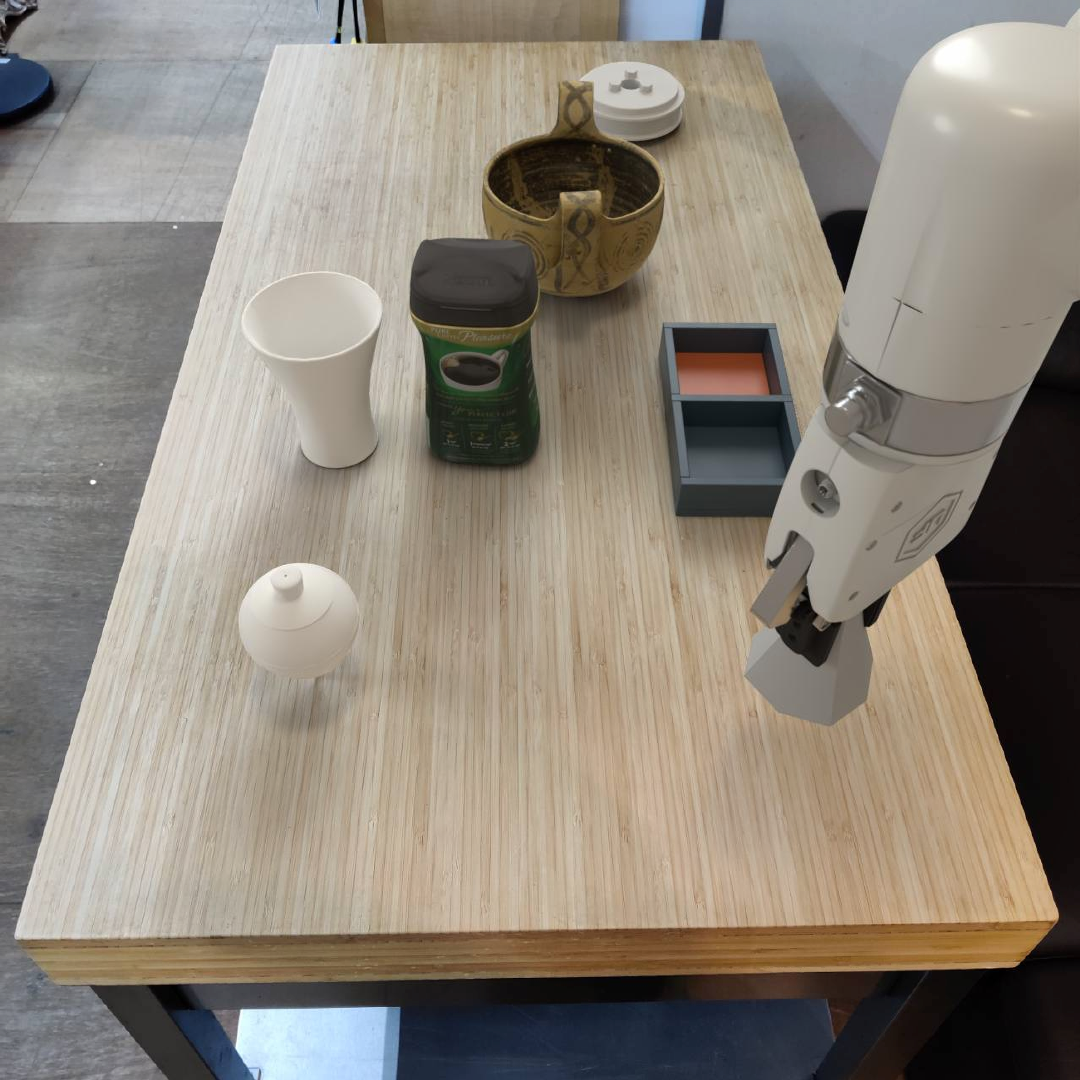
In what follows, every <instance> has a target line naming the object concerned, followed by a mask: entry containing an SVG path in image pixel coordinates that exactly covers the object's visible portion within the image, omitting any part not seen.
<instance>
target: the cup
mask: <svg viewBox="0 0 1080 1080" xmlns="http://www.w3.org/2000/svg"><path fill="white" fill-rule="evenodd" d="M383 307H384V306H383V301H382V300H381V298H380V296H379V295H378V293H377V291H376V290H374V288H372V287H371V286H370V285H369V284H368V283H367V282H365V281H364V280H361V279H360V278H358V277H355V276H353V275H348V274H345V273H340V272H338V271H337V272H336V271H326V270H325V271H323V270H322V271H321V270H317V271H308V272H307V271H306V272H305V271H304V272H300V273H296V274H291V275H288V276H285V277H281V278H280V279H278V280H275V281H273V282H270V283H269V284H267V285H266V286H264V287H263V288H262V289H260V290H258V291H257V292H256V293H255V294H254V295H253V296H252V297H251V298H250V300H249V301H248V302H247V303H246V305H245V308H244V309H243V310H244V311H243V312H242V315H241V323H240V329H241V331H242V334H243V336H244V339H245V340H246V342H247V344H249V346H250V347H251V348H252V350H253V351H254V352H255V353H256V355H257V356H258V357H259V359H260V360H261V361H262V363H263V364H264V366H265V367H266V368H267V369H268V371H269V372H270V374H271V375H272V376H273V378H274V379H275V380H276V382H277V383H278V385H279V386H280V387H281V388H282V391H283V392H284V394H285V396H286V398H287V400H288V402H289V404H290V406H291V407H292V411H293V413H294V416H295V419H296V422H297V426H298V432H299V433H298V434H299V440H300V448H301V451H302V453H303V455H304V456H305V458H307V460H308V461H310V462H312V463H313V464H315V465H317V466H320V467H324V468H329V469H342V468H348V467H352V466H355V465H357V464H359V463H361V462H362V461H364V460H366V459H367V458H368V457H369V456H370V455H371V454H372V453H373V452H374V451H375V449H376V448H377V445H378V441H379V432H378V429H377V425H376V422H375V419H374V416H373V413H372V407H371V398H370V397H371V396H370V392H371V391H370V390H371V389H370V388H371V374H372V373H371V371H372V367H373V361H374V357H375V352H376V347H377V342H378V338H379V333H380V330H381V326H382V321H383V318H384V309H383Z"/></svg>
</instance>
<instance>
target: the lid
mask: <svg viewBox="0 0 1080 1080" xmlns="http://www.w3.org/2000/svg"><path fill="white" fill-rule="evenodd" d="M578 81H590V82H594V100H593V113H594V121H595V125H596V127H597V128H598V130H599V131H601V132H602V133H604V134H606V135H608V136H611V137H616V138H620V139H623V140H626V141H628V142H640V141H648V140H652V139H658V138H659V137H663V136H666V135H667V134H670V133H671V132H673V131H674V130H675V129H676V128H677V127H678V126H679V124H680V123H681V122H682V119H683V109H682V105H683V104H684V101H685V94H686V93H685V88H684V86H683V85H682V83H681V82H680V81H679V80H678V79H677V78H676V77H675V76H674V75H672V73H670V72H669V71H667V70H665V69H664V68H661V67H659V66H657V65H654V64H650V63H645V62H639V61H617V62H609V63H605V64H602V65H600V66H597V67H594V68H593V69H591V70H590V71H588V72H587V73H586V74H584V75H583V76H582V77H581V78H580V79H579V80H578Z"/></svg>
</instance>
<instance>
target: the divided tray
mask: <svg viewBox="0 0 1080 1080" xmlns="http://www.w3.org/2000/svg"><path fill="white" fill-rule="evenodd" d="M779 336H780V335H779V332H778V327H777V324H776V322H685V321H683V322H682V321H681V322H678V321H676V322H675V321H674V322H671V321H669V322H666V321H663V322H662V326H661V333H660V341H659V349H658V358H659V359H658V360H659V370H660V371H659V372H660V380H661V389H662V390H661V391H662V399H663V400H662V401H663V408H664V417H665V419H664V420H665V428H666V437H667V446H668V447H667V449H668V456H669V457H668V458H669V465H670V476H671V486H672V494H673V505H674V513H675V516H676V517H769V518H770V517H771V518H772V517H773V513H774V510H775V507H776V504H777V501H778V498H779V495H780V492H781V490H782V487H783V484H784V482H785V479H786V476H787V474H788V471H789V469H790V466H791V464H792V462H793V459H794V457H795V454H796V452H797V450H798V447H799V445H800V443H801V441H802V436H801V432H800V427H799V422H798V418H797V413H796V409H795V405H794V399H793V394H792V390H791V385H790V382H789V377H788V373H787V369H786V364H785V359H784V355H783V350H782V345H781V341H780V337H779Z"/></svg>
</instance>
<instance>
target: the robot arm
mask: <svg viewBox="0 0 1080 1080" xmlns="http://www.w3.org/2000/svg"><path fill="white" fill-rule="evenodd" d="M887 138H888V139H887V141H886V146H885V149H884V152H883V155H882V159H881V163H880V167H879V170H878V173H877V177H876V179H875V180H876V181H875V184H874V187H873V191H872V195H871V199H870V202H869V207H868V210H867V213H866V216H865V220H864V224H863V227H862V231H861V234H860V237H859V240H858V241H859V242H858V244H857V249H856V252H855V256H854V260H853V264H852V265H851V270H850V273H849V278H848V281H847V283H846V284H847V285H846V288H845V292H844V295H843V299H842V303H841V306H840V310H839V313H838V315H837V319H836V322H835V325H834V329H833V333H832V336H831V338H830V339H831V340H830V344H829V347H828V351H827V354H826V358H825V361H824V364H823V368H822V372H821V376H820V380H819V395H820V401H821V402H820V404H819V405H818V407H817V408H816V409H815V411H814V413H813V415H812V418H811V419H810V421H809V423H808V426H807V428H806V430H805V432H804V434H803V435H802V437H801V440H802V441H801V443H800V445H799V447H798V450H797V452H796V454H795V457H794V459H793V462H792V464H791V466H790V469H789V471H788V474H787V476H786V479H785V482H784V484H783V487H782V490H781V492H780V495H779V498H778V501H777V504H776V507H775V510H774V513H773V517H771V521H770V523H769V527H768V531H767V535H766V539H765V545H764V556H763V559H764V566H765V568H766V570H769V571H770V570H774V571H773V572H772V574H771V575H770V577H769V579H768V580H767V582H766V583H765V585H764V587H763V588H762V590H761V591H760V593H759V594H758V596H757V597H756V599H755V600H754V602H753V604H752V605H751V607H750V609H749V612H750V613H751V615H753V616H754V617H755V618H756V619H758V620H759V621H760V622H761V623H762V624H763V625H764V627H765V626H767V627H768V628H769V629H772V628H775V630H776V631H777V633H778V634H779V635H780V637H781V639H782V641H783V642H784V644H785V645H786V646H787V647H788V648H789V649H791V650H792V651H793V652H794V653H796V654H798V655H802V656H803V657H805V658H806V659H807V660H808V661H809V662H810V663H811V664H812V665H814V666H815V667H820V666H821V665H822V664H823V663H825V662H826V661H827V658H828V656H829V653H830V651H831V649H832V646H833V644H834V641H835V639H836V636H837V634H838V632H839V629H840V627H841V624H842V622H841V621H844V620H848V619H850V618H852V617H853V616H855V615H857V614H858V613H860V612H861V611H862V610H863V621H864V627H866V628H871V627H872V626H873V625H875V624H876V623H877V622H878V619H879V617H880V615H881V613H882V611H883V609H884V607H885V604H886V602H887V600H888V598H889V596H890V593H891V592H892V589H893V588H895V586H897V585H898V584H899V583H901V582H902V581H904V580H905V579H906V578H907V577H908V576H910V575H912V574H913V573H914V572H915V571H916V570H918V569H919V568H920V567H921V566H922V565H924V564H925V563H926V562H927V561H929V560H931V558H932V557H934V556H935V555H937V554H938V553H939V552H940V551H941V550H942V549H944V548H945V547H946V546H947V545H949V544H950V542H952V541H953V540H954V539H955V537H957V536H958V535H959V534H960V533H961V531H962V530H963V529H964V527H965V526H966V524H967V522H968V520H969V518H970V517H971V515H972V512H973V510H974V508H975V506H976V503H977V502H978V499H979V496H980V494H981V492H982V490H983V488H984V485H985V482H986V480H987V478H988V476H989V474H990V472H991V469H992V467H993V465H994V462H995V461H996V458H997V455H998V453H999V450H1000V447H1001V445H1002V443H1003V440H1004V438H1005V436H1006V435H1007V433H1008V431H1009V429H1010V426H1011V425H1012V423H1013V421H1014V419H1015V417H1016V415H1017V413H1018V411H1019V409H1020V407H1021V405H1022V403H1023V402H1024V399H1025V397H1026V395H1027V394H1028V391H1029V389H1030V387H1031V385H1032V384H1033V381H1034V379H1035V377H1036V376H1037V373H1038V371H1039V370H1040V368H1041V366H1042V364H1043V363H1044V362H1043V361H1044V360H1045V358H1046V356H1047V354H1048V352H1049V350H1050V349H1051V346H1052V345H1053V342H1054V341H1055V339H1056V336H1057V335H1058V333H1059V331H1060V328H1061V326H1062V325H1063V323H1064V321H1065V319H1066V317H1067V316H1068V315H1067V314H1069V311H1070V310H1071V307H1072V306H1073V303H1075V302H1078V301H1080V7H1079V8H1078V9H1077V10H1076V12H1074V14H1073V15H1072V16H1071V17H1070V19H1068V22H1066V24H1065V26H1061V25H1060V26H1059V25H1056V24H1055V25H1054V24H1049V23H1040V22H1029V21H1003V22H1002V21H1001V22H992V23H985V24H979V25H975V26H972V27H968V28H965V29H963V30H960V31H958V32H955V33H953V34H951V35H949V36H947V37H945V38H944V39H942V40H940V41H938V42H937V43H936V44H934V45H933V47H931V48H930V49H928V51H926V53H924V55H922V56H921V58H920V59H919V60H918V61H917V63H916V64H915V65H914V67H913V69H912V70H911V72H910V74H909V75H908V77H907V78H906V81H905V83H904V84H903V88H902V91H901V93H900V97H899V99H898V103H897V106H896V109H895V113H894V116H893V119H892V123H891V127H890V131H889V134H888V137H887Z"/></svg>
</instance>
